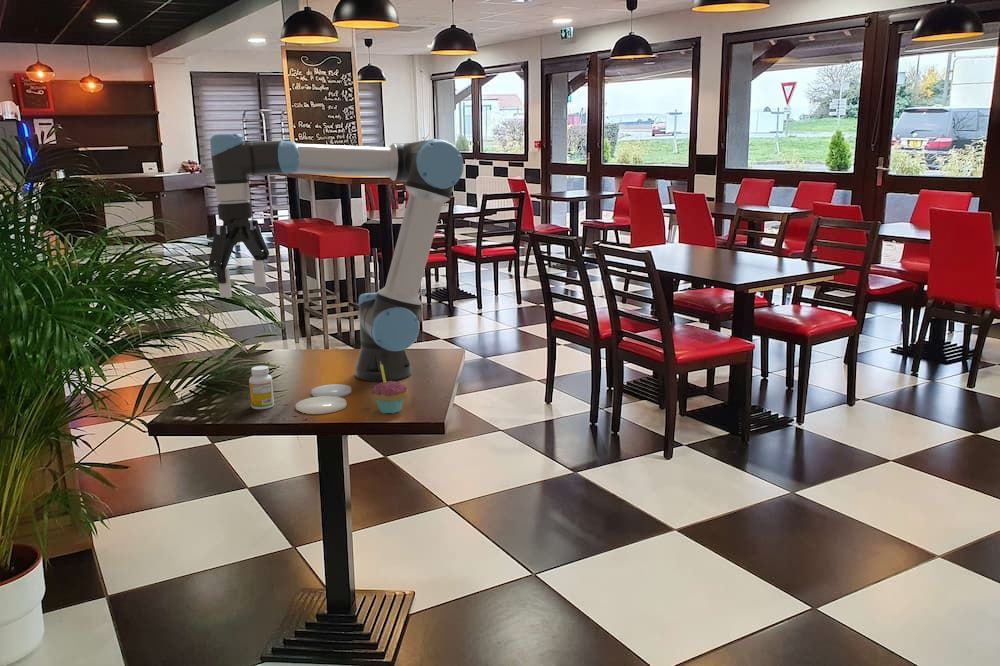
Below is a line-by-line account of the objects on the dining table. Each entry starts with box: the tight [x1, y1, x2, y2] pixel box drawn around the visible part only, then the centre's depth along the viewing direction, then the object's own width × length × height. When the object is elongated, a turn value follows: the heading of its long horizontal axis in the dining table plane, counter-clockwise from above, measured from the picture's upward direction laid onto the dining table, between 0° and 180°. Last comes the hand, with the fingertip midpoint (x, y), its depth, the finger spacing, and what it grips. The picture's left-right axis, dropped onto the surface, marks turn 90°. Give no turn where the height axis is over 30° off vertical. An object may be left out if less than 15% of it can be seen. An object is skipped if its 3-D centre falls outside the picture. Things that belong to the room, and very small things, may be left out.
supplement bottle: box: [248, 365, 275, 410], centre depth 196 cm, size 5×5×10 cm
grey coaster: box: [310, 383, 352, 398], centre depth 207 cm, size 10×10×1 cm
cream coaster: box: [295, 396, 347, 415], centre depth 196 cm, size 12×12×1 cm
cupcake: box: [370, 362, 409, 414], centre depth 191 cm, size 9×8×12 cm
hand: (244, 291), depth 194 cm, fingers open, 13 cm apart
